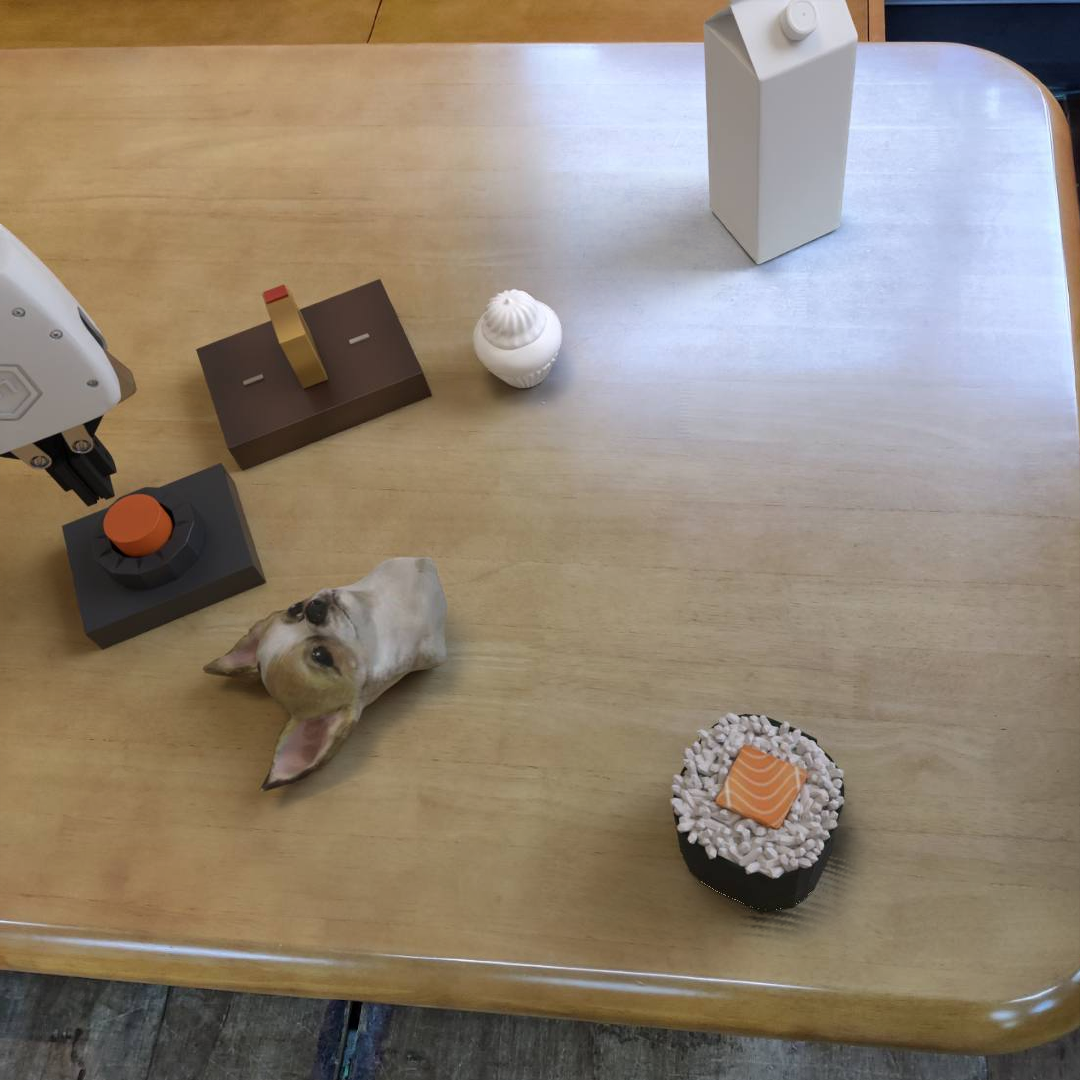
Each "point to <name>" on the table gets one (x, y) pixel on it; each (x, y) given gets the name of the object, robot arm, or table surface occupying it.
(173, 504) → the push button base
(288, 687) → the ceramic sculpture
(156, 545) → the bell button
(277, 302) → the lock knob
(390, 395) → the plate
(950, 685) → the table surface
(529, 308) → the muffin
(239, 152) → the table surface
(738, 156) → the milk carton
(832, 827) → the sushi
